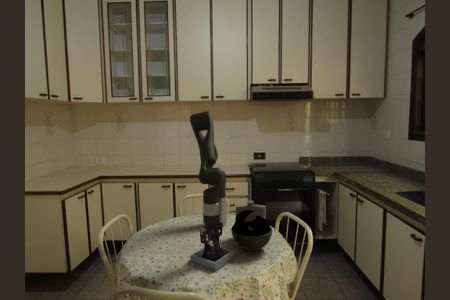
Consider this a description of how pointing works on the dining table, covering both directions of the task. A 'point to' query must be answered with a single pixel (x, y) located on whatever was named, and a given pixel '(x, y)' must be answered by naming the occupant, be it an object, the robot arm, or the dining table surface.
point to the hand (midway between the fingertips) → (212, 248)
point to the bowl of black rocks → (251, 231)
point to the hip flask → (258, 210)
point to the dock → (209, 263)
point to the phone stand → (218, 251)
